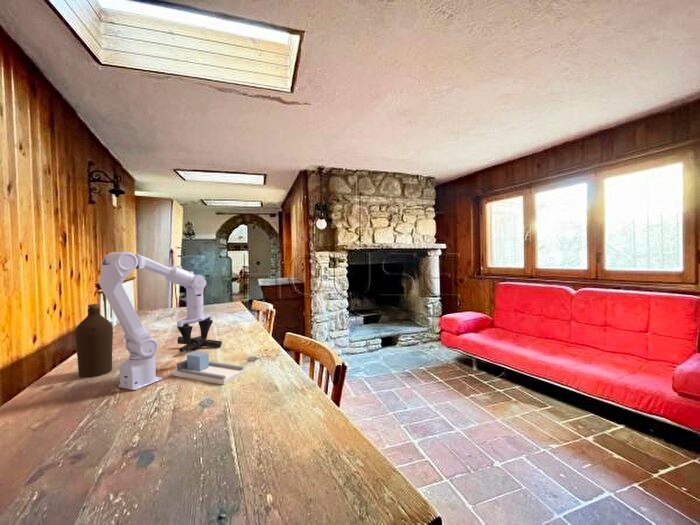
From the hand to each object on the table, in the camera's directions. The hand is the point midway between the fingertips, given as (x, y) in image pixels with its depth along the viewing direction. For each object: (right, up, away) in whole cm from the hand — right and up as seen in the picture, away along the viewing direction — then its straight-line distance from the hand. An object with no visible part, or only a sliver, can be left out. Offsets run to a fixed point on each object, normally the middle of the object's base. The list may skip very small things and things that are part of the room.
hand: (196, 341), depth 119 cm
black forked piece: (-10, -9, +19) cm, 24 cm away
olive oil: (-34, -10, -6) cm, 35 cm away
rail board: (+9, -10, -9) cm, 16 cm away
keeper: (+4, -8, -7) cm, 11 cm away
